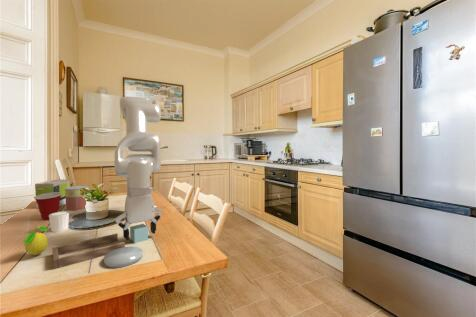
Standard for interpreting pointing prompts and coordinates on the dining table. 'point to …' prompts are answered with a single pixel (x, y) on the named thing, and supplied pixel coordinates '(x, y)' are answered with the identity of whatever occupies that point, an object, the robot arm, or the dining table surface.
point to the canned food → (74, 198)
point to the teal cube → (139, 233)
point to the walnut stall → (84, 255)
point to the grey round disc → (122, 257)
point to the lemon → (36, 241)
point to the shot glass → (59, 221)
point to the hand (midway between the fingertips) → (140, 235)
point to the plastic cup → (48, 203)
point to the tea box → (53, 188)
